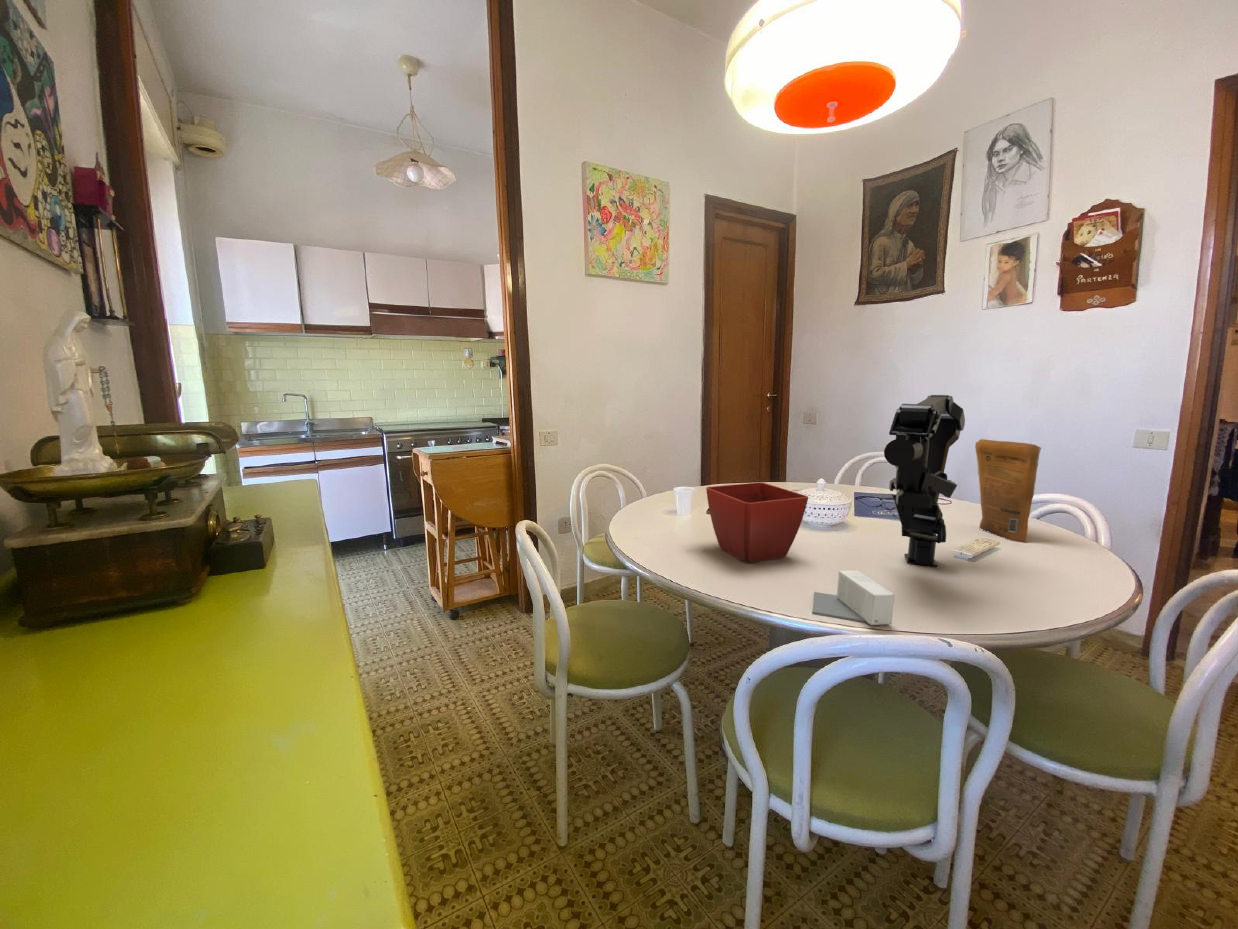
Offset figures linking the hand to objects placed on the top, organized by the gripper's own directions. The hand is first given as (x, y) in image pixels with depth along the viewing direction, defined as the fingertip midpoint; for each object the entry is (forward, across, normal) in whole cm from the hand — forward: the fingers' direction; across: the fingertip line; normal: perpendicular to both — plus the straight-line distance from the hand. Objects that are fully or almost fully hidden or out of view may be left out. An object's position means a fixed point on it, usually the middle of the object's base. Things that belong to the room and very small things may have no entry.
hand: (905, 529), depth 110 cm
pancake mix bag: (+12, +50, -31) cm, 60 cm away
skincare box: (+8, -16, +12) cm, 22 cm away
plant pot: (+12, +5, +34) cm, 36 cm away
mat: (+12, -21, +12) cm, 27 cm away
